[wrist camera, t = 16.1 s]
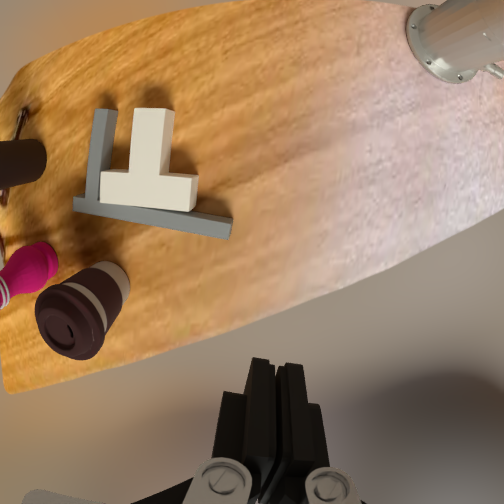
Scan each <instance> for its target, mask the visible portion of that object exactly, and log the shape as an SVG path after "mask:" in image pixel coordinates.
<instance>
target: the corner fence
mask: <svg viewBox="0 0 504 504" xmlns="http://www.w3.org/2000/svg"><path fill="white" fill-rule="evenodd" d="M117 116H118V111H116V110H111V109H95V114H94V120H93V127H92V134H91V141H90V149H89V158H88V167H87V178H86V191H85V193H83V194H80V195H77V196H74V197H73V211H76V212H81V213H87V214H92V215H98V216H103V217H109V218H114V219H119V220H125V221H130V222H136V223H141V224H146V225H152V226H157V227H162V228H168V229H173V230H178V231H184V232H189V233H194V234H199V235H205V236H210V237H215V238H220V239H226V240H228V239H229V237H230V234H231V230H232V224H233V219H232V218H227V217H222V216H216V215H211V214H205V213H200V212H194V211H189V212H186V211H177V210H167V209H158V208H149V207H139V206H129V205H119V204H108V203H100V179H101V171H106V170H110V165H111V156H112V149H113V141H114V134H115V128H116V122H117Z"/></svg>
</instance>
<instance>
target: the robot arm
mask: <svg viewBox="0 0 504 504" xmlns="http://www.w3.org/2000/svg"><path fill="white" fill-rule="evenodd" d="M406 33H407V39H408V43H409V45H410V48H411V50H412V52H413V54H414V55H415V57H416V59H417V60H418V61H419V62H420V64H421V65H422V66H423V67H424V68H425V69H426V70H427V71H428V72H429V73H431V74H432V75H433V76H434V77H436V78H438V79H440V80H442V81H445V82H447V83H453V84H459V83H464V82H467V81H469V80H471V79H472V78H473V77H474V76H475V75H476V73H477V71H478V70H481V71H483V72H486V71H487V72H489V73H490V74H491V75H493V76H494V77H496V78H498V79H502V78H503V76H504V70H503V69H502V68H500V67H499V66H497V65H496V64H493V63H495V62H499V61H503V60H504V0H447V1H445V2H444V3H443V4H441V5H440V6H438V5H431V4H430V5H429V4H428V5H422V6H420V7H418V8H417V9H415V10H414V11H413V12H412V13H411V15H410V16H409V18H408V21H407V26H406ZM257 499H258V503H259V504H366V503H365V502H363V501H362V500H360V498H359V495H358V493H357V490H356V487H355V484H354V482H353V480H352V479H351V477H350V476H349V475H348V474H347V473H345V472H344V471H342V470H340V469H336V468H333V467H330V464H329V458H328V451H327V445H326V438H325V432H324V426H323V420H322V414H321V409H320V406H319V404H313V403H308V399H307V391H306V385H305V377H304V370H303V365H301V364H293V363H286V364H285V365H284V366H279V367H278V370H277V373H276V376H275V365H271V364H269V360H267V359H261V358H255V357H253V358H252V361H251V365H250V370H249V374H248V378H247V381H246V385H245V389H244V394H238V393H232V392H226V391H224V392H223V397H222V402H221V407H220V413H219V418H218V423H217V429H216V435H215V441H214V446H213V452H212V458H211V459H210V460H207V461H205V462H204V463H202V464H201V465H200V466H199V468H198V469H197V471H196V473H195V476H194V477H193V478H191V479H188V480H186V481H184V482H182V483H180V484H178V485H175V486H173V487H171V488H169V489H166V490H164V491H162V492H159V493H157V494H154V495H152V496H149V497H147V498H144V499H142V500H139V501H137V502H134V503H131V504H255V502H256V501H257ZM22 504H105V503H100V502H94V501H89V500H83V499H79V498H74V497H69V496H65V495H61V494H57V493H53V492H50V491H46V490H38V489H37V490H33V491H30V492H29V493H27V494H26V495H25V496H24V499H23V501H22Z"/></svg>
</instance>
